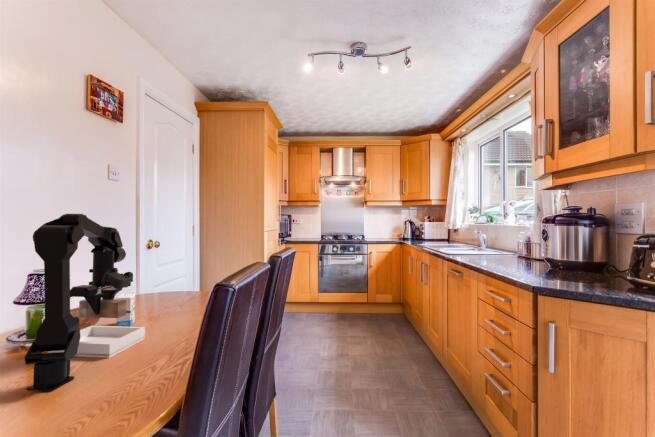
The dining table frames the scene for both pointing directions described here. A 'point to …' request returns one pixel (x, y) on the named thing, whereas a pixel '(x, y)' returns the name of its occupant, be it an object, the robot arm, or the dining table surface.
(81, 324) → the tin
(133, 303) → the ink box
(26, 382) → the dining table surface
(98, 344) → the bin
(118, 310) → the strut
